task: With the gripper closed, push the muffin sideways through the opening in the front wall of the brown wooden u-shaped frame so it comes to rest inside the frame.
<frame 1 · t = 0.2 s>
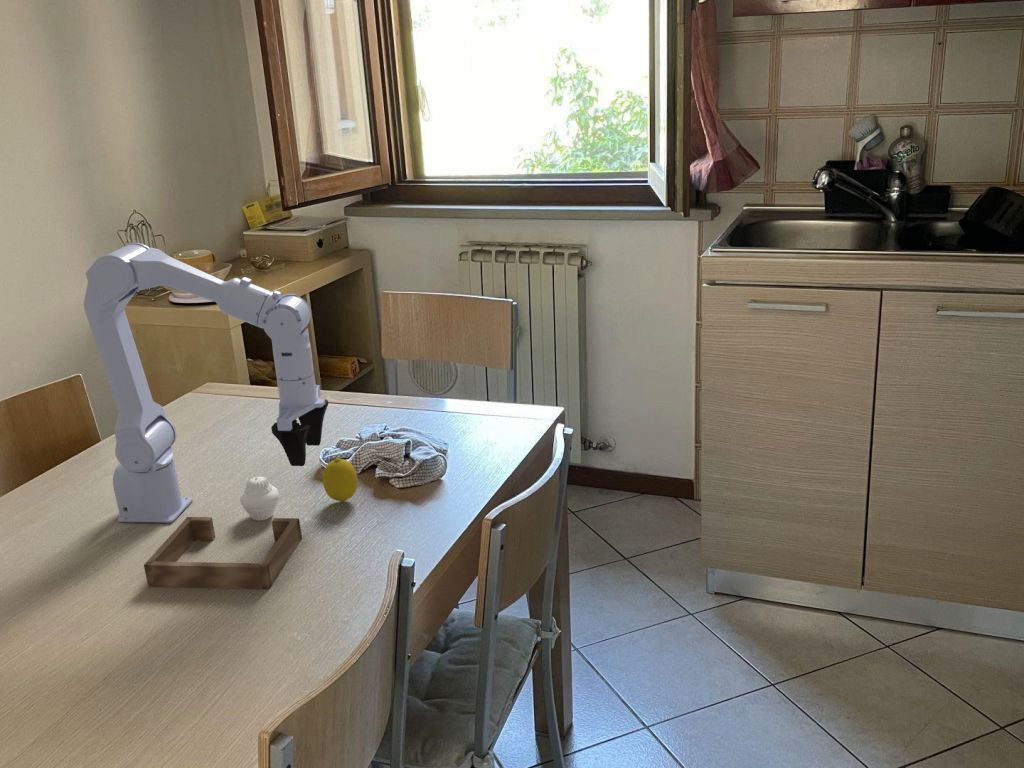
hand: (306, 454, 149), 10 cm above the table, tool pointing down, fingers open, 7 cm apart
muffin: (262, 517, 151), on the table
lemon: (343, 503, 154), on the table
brown wooden u-shaped frame: (228, 561, 138), on the table
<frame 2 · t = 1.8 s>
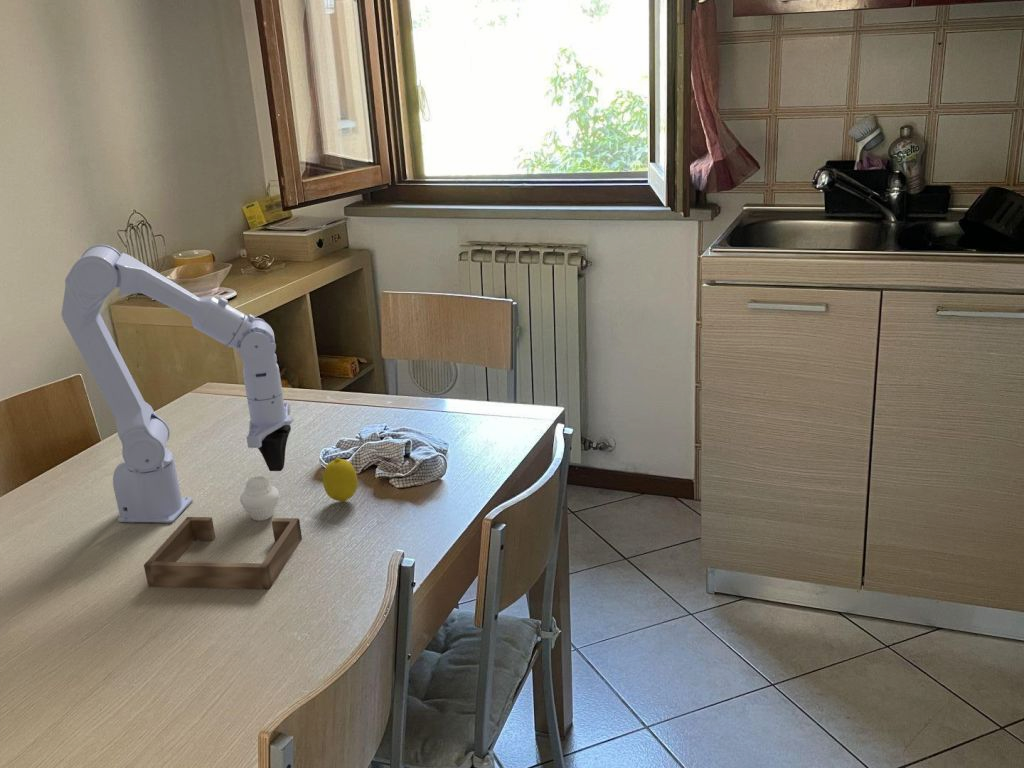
hand: (276, 469, 157), 4 cm above the table, tool pointing down, fingers closed
nothing on the table moved.
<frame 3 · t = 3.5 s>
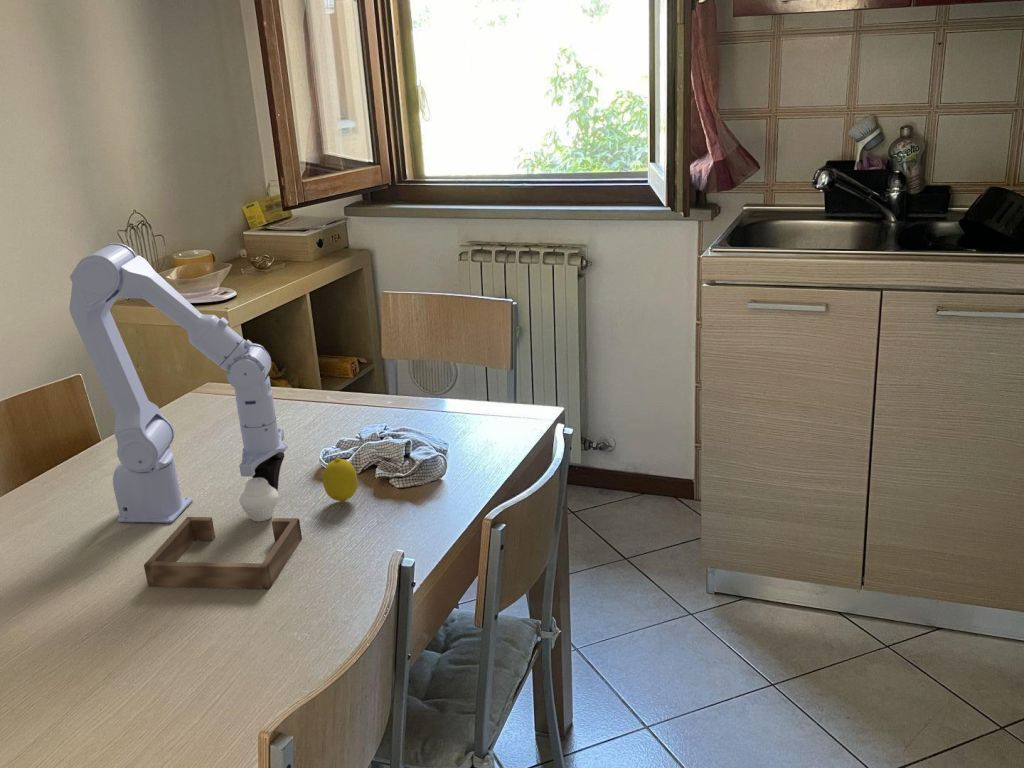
hand: (270, 496, 154), 1 cm above the table, tool pointing down, fingers closed
muffin: (262, 518, 151), on the table, touching gripper
everything else where it was.
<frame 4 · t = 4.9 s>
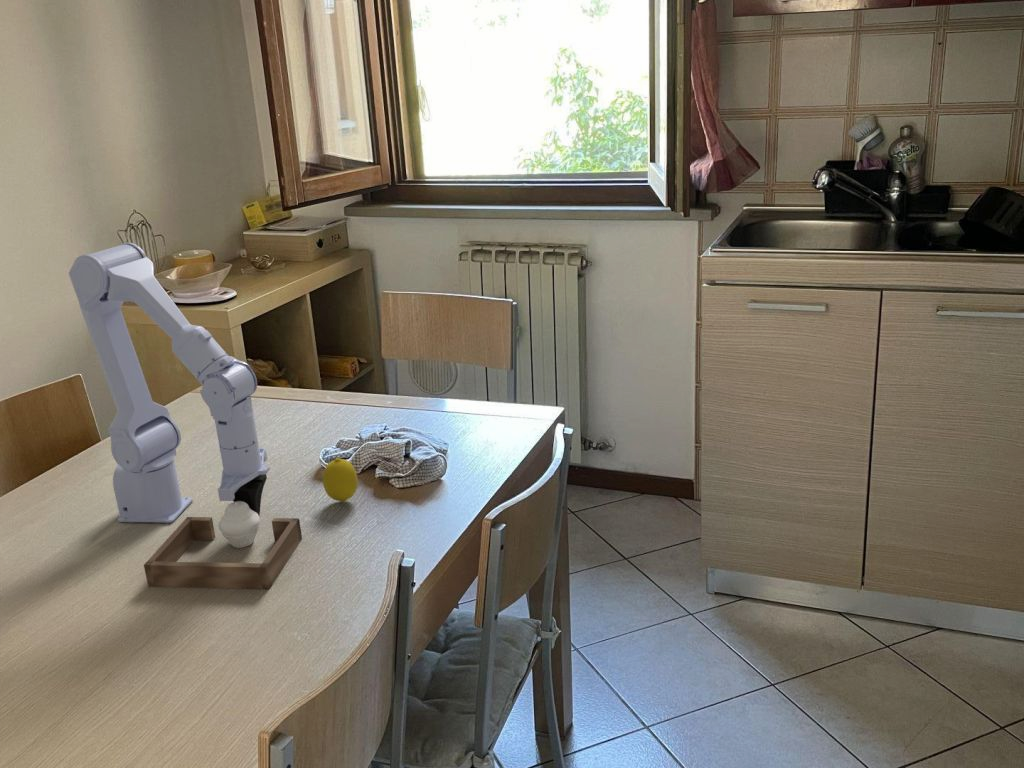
hand: (251, 520, 147), 1 cm above the table, tool pointing down, fingers closed
muffin: (243, 543, 143), on the table, touching gripper
everything else where it was.
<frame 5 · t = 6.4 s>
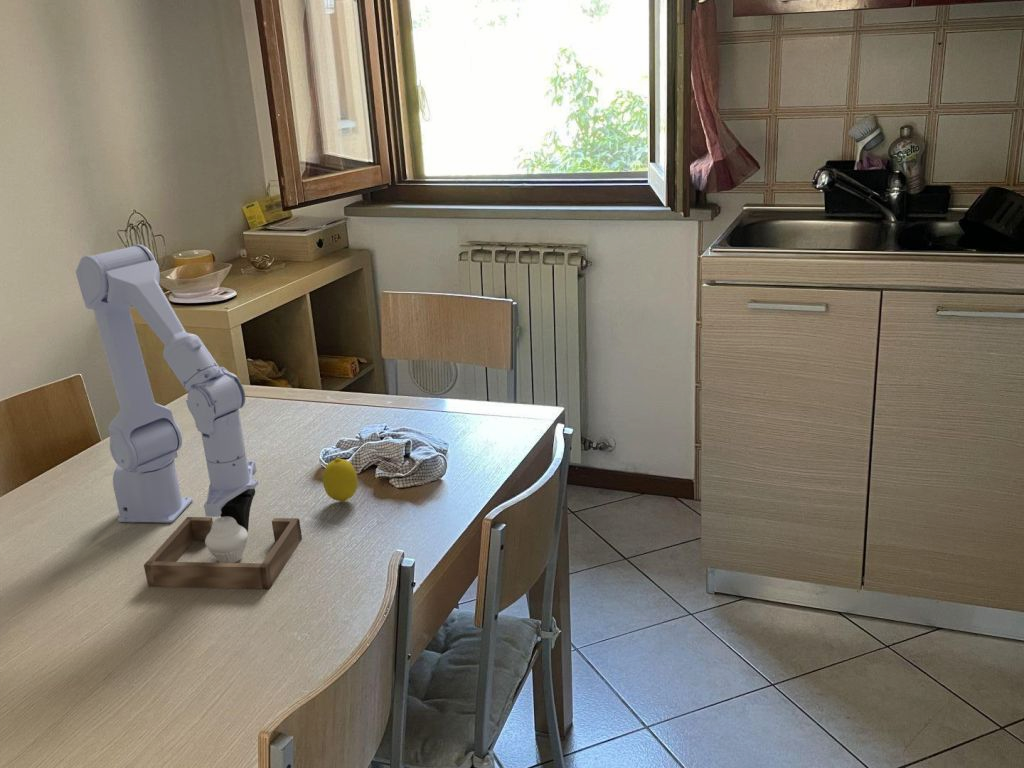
hand: (239, 536, 142), 1 cm above the table, tool pointing down, fingers closed
muffin: (230, 560, 139), on the table, touching gripper
everything else where it was.
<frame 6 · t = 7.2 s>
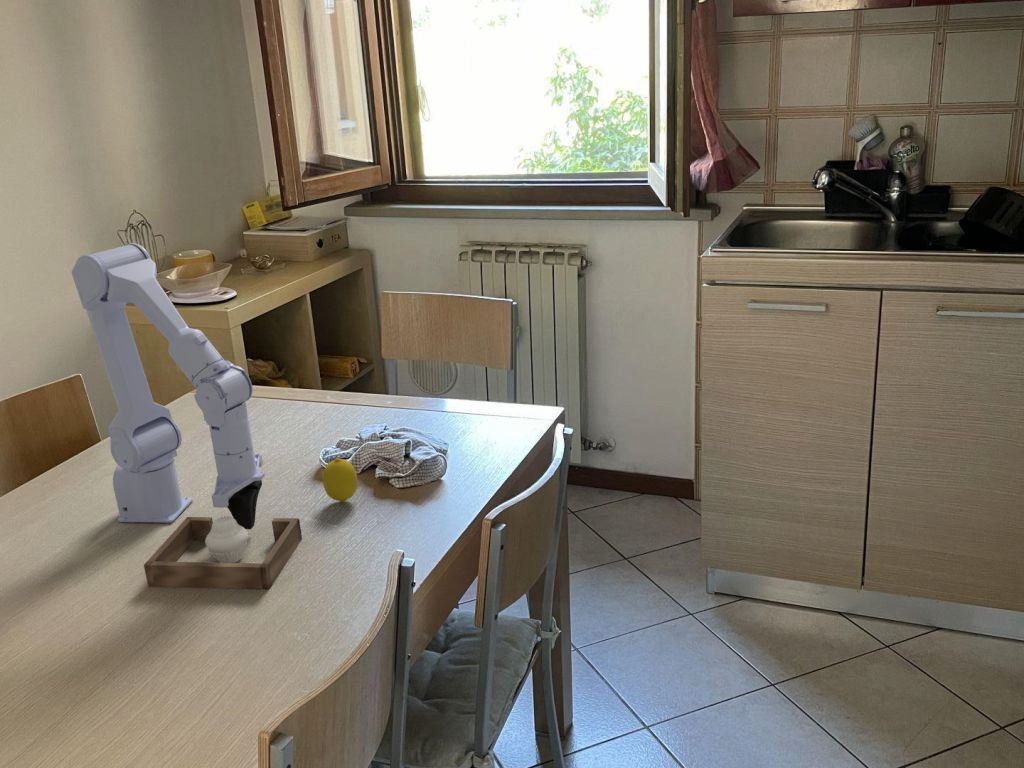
hand: (246, 527, 145), 1 cm above the table, tool pointing down, fingers closed
muffin: (230, 560, 139), on the table
everything else where it was.
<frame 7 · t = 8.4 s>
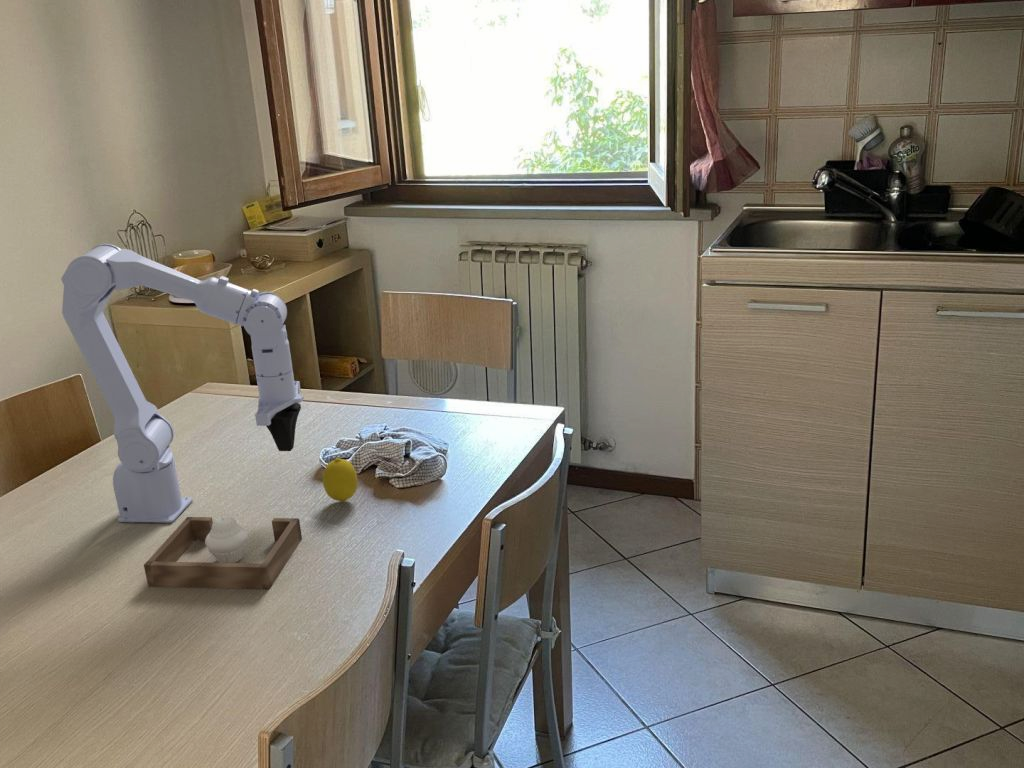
hand: (286, 449, 152), 9 cm above the table, tool pointing down, fingers closed
nothing on the table moved.
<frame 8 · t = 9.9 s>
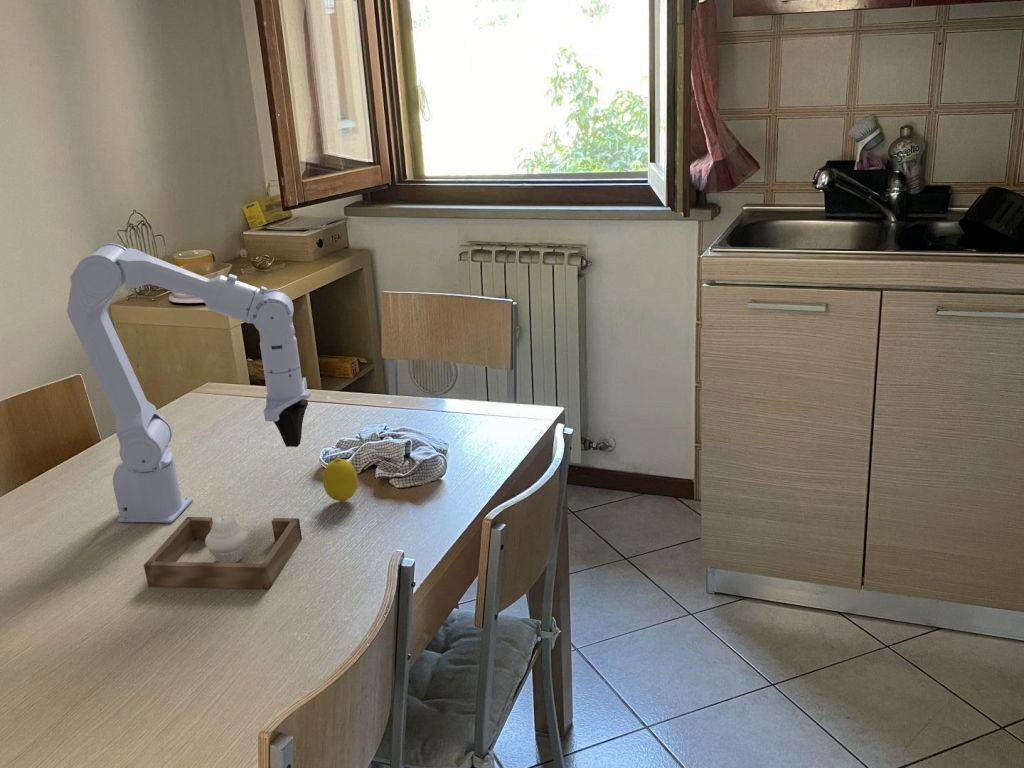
hand: (293, 445, 154), 9 cm above the table, tool pointing down, fingers closed
nothing on the table moved.
at the end: muffin inside the target area (0.9 cm from its centre), on the table; muffin tilted 0° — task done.
